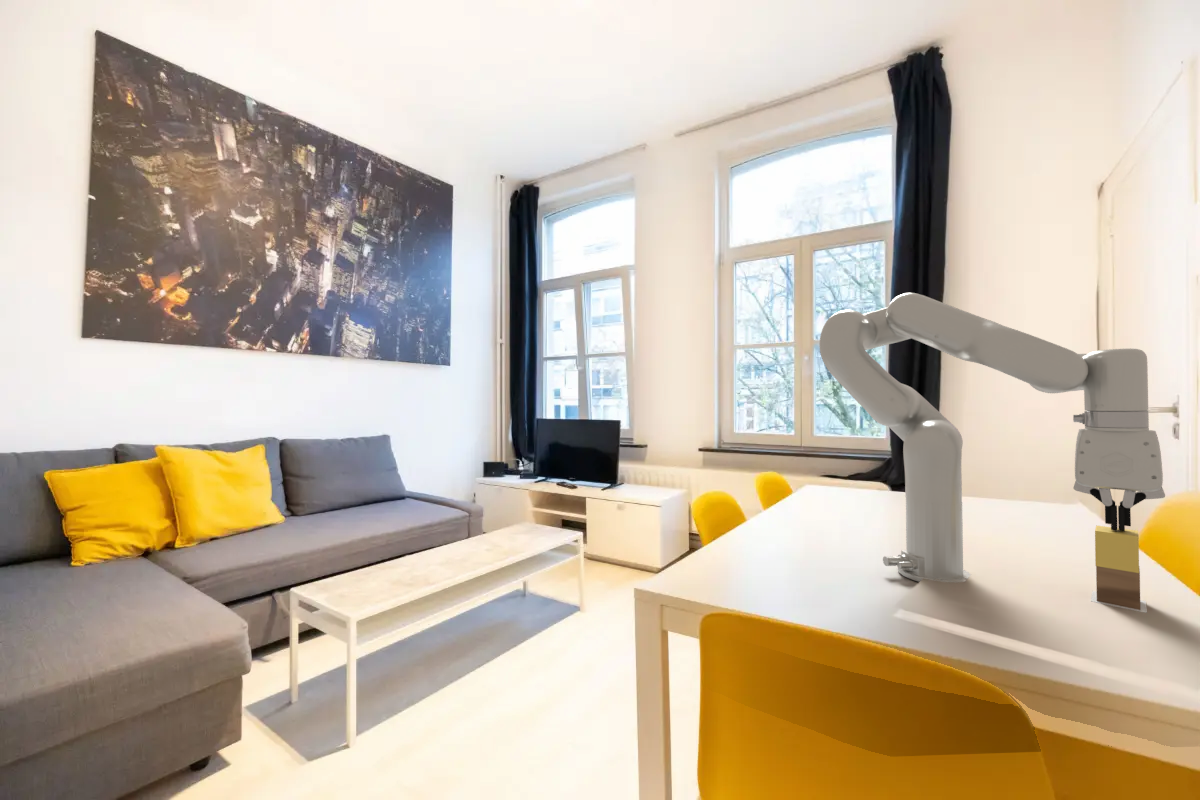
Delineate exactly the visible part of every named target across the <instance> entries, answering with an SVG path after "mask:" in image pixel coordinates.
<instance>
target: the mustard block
mask: <svg viewBox="0 0 1200 800" xmlns="http://www.w3.org/2000/svg"><path fill="white" fill-rule="evenodd" d="M1094 533H1095V534H1094V546H1095V547H1094V550H1095V551H1094V553H1095V554H1094V555H1095V559H1094V560H1095V567H1096V566H1099V567H1105V568H1111V569H1117V570H1123V571H1129V572H1135V573H1139V569H1140V554H1139V552H1140V550H1139V549H1140V548H1139V547H1140V546H1139V545H1140V543H1139V542H1140V540H1139V530H1136V529H1135V530H1134V529H1128V528H1125V532H1124V531H1120V530H1119V527H1117V530H1111V526H1103V525H1096V526H1095V531H1094Z"/></svg>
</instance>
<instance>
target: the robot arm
mask: <svg viewBox="0 0 1200 800" xmlns="http://www.w3.org/2000/svg"><path fill="white" fill-rule="evenodd" d="M911 339H912V340H914V341H918V342H920V343H922V344H923V345H924V344H925V345H927V346H929V347H931V348H934V349H936V350H938V351H941V352H943V353H945V354H947V355H950V356H952V357H954V358H957V359H960V360H963V361H965V362H966V361H967V362H970V363H976V364H978V365H979V364H980V365H982V366H985V367H988V368H991V369H993V370H995V371H998V372H1000V373H1003V374H1004V375H1005V374H1006V375H1008V376H1011V377H1013V378H1015V379H1018V380H1019V381H1022V382H1024V383H1027V384H1028V385H1029V386H1030V387H1032V388H1033V389H1035V390H1036V391H1038V392H1042V393H1046V394H1061V393H1068V392H1076V391H1083V395H1084V398H1083V401H1084V404H1083V405H1084V412H1082V413H1079V414H1073V415H1072V416H1073V423H1079V424H1082V425H1084V428H1080V429H1078V432H1077V436H1076V442H1075V451H1074V453H1075V455H1074V479H1075V482H1074V484H1073V490H1075V491H1076V492H1079V493H1083V494H1087V495H1090V496H1093V497H1094V498H1095V499H1097V500H1098V501H1099V502H1100V503H1101V504H1102V505H1103V506H1104V514H1105V515H1104V523H1105V525H1106V524H1107V525H1110V527H1111V530H1117V528H1119V530H1120V531H1124V532H1125V529H1126V527H1131V525H1132V522H1131V521H1132V520H1131V519H1132V517H1131V515H1132V514H1131V508H1133V507H1134V506H1136V505H1137V504H1140V503H1141V502H1143V501H1144V500H1157V499H1164V498H1165V497H1166V493H1165V490H1164V489H1163V481H1164V479H1163V477H1164V475H1163V461H1162V454H1161V451H1162V450H1161V447H1160V445H1161V444H1160V441H1159V437H1158V434H1157V431H1156V430H1151V429H1150V428H1149V427H1150V424H1149V423H1150V422H1149V421H1150V419H1149V418H1150V417H1149V385H1148V384H1149V379H1148V378H1149V377H1148V376H1149V375H1148V367H1149V366H1148V356H1147V354H1146V352H1145V351H1144V350H1141V349H1139V348H1112V349H1111V348H1109V349H1100V350H1093V351H1091V352H1089V353H1077V352H1075V351H1073V350H1071V349H1069V348H1066V347H1063V346H1062V345H1058V344H1056V343H1053V342H1050V341H1047V340H1045V339H1043V338H1040V337H1038V336H1034V335H1032V334H1029V333H1026V332H1024V331H1021V330H1018V329H1015V328H1011V327H1008V326H1005V325H1003V324H1001V323H999V322H995V321H993V320H990V319H987V318H984V317H982V316H979V315H976V314H973V313H970V312H969V311H965V310H962V309H960V308H958V307H954V306H952V305H949V304H948V303H944V302H941V301H939V300H936V299H934V298H931V297H929V296H926V295H924V294H919V293H915V292H904V293H902V294H899V295H897V296H895V297H894V298H893V299H892V300H891V301H890V303H889V304H888V306H887V307H884V308H880V309H877V310H875V311H869V312H867V313H862V312H860V311H858V310H857V311H856V310H855V309H854V310H853V309H844V310H839V311H837V312H835V313H834V314H832V315H831V316H829V318H827V320H826V321H825V323H824V325H823V327H822V329H821V332H820V336H819V353H820V356H821V357H820V358H821V359H822V361H823V364H824V366H825V367H826V369H827V371H828V372H829V373H830V374H831V375H832V376H833V378H834V379H835V380H836V381H837V382H838V383H839V384H840V385H841V387H843V388H844V390H846V392H847V393H848V394H849V395H850V396H851V397H852V398H853V399H854V400H855V401H856V402H857V403H858V404H859V405H860V406H861V407H862V408H863V409H864V410H865V411H866V412H867V413H868V415H870V417H871V418H872V419H873V420H874V421H875V422H877V424H880V425H882V426H886V427H888V428H889V429H891V431H892V432H893V433H894V434H895V435H896V436H898V437H899V439H901V440H902V442H903V446H902V447H903V449H902V450H903V451H902V453H903V454H902V455H903V466H904V485H905V486H904V489H905V492H904V493H905V495H904V496H905V538H906V539H905V541H906V545H905V546H906V549H902V550H901V551H900V552H901V553H900V554H898V555H897V556H893V555H888V556H887V555H884V556H883V558H882V562H883V565H884V566H886V567H896V566H897V571H898V573H899V574H900V575H902V576H903V577H905V578H907V579H910V580H912V581H915V582H919V583H920V582H921V581H922V580H923V579H925V580H930V581H936V582H942V583H964V582H966V581H967V579H969V578H970V576H971V575H972V574H971V573H970V572H969V571H967V570H965V569H964V542H963V541H964V540H963V539H964V537H963V533H964V532H963V491H962V490H963V488H962V487H963V484H962V483H963V479H962V475H963V474H962V455H963V453H962V452H963V438H962V435H961V434H962V433H961V432H960V431H959V429H958V428H957V427H956V426H955V425H954V424H953V423H952V422H951V421H950V420H949V419H948V418H947V417H945V415H943V414H942V413H940V410H939V411H938V409H937V408H935V406H933V405H932V404H931V403H930V402H929V401H928V400H927V399H926V398H925V397H924V396H923V395H921V394H920V393H919V392H918V391H917V390H916V389H914V388H913V387H911V386H909V385H907V384H904V383H901V382H900V381H898V380H897V379H896V378H895V377H893V375H891V374H890V373H889V372H888V371H887V370H886V369H885V368H883V366H882V365H881V364H880V363H879V362H877V361H876V359H874V358H873V357H872V356H871V355H870V354H869V353H868V352H867V351H866V350H868V351H869V350H872V349H876V348H880V347H884V346H887V345H892V344H895V343H901V342H903V341H907V340H911ZM1111 490H1118V491H1120V490H1122V491H1123V492H1124V493H1123V497H1122V501H1120V502H1119V505H1116V501H1115V500H1113V496H1112V492H1111Z"/></svg>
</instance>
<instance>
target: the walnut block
mask: <svg viewBox="0 0 1200 800" xmlns="http://www.w3.org/2000/svg"><path fill="white" fill-rule="evenodd" d="M1095 569H1096V572H1095V575H1096V592H1097V601H1099V602H1104V603H1109V604H1114V605H1118V606H1123V607H1128V608H1133V609H1138V610H1140V600H1141V571H1140V570H1141V569H1140V568H1139V573H1135V572H1129V571H1123V570H1117V569H1111V568H1105V567H1099V566H1096V565H1095Z"/></svg>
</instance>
